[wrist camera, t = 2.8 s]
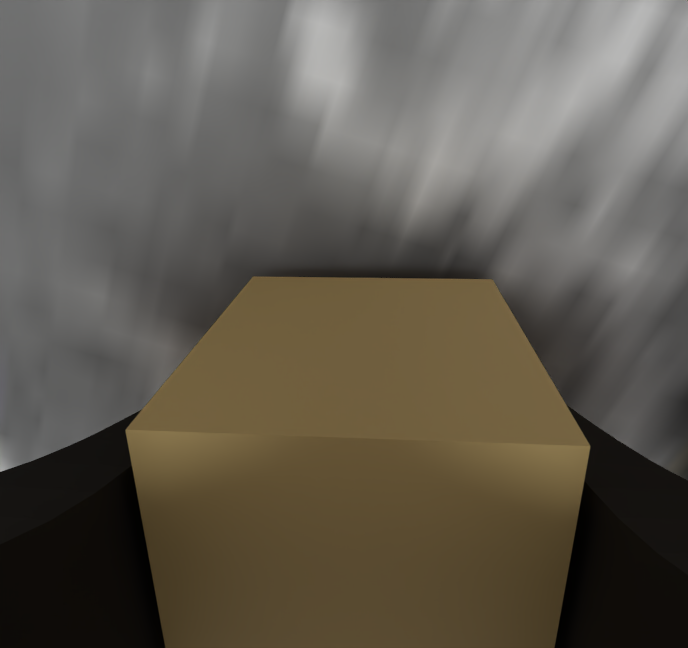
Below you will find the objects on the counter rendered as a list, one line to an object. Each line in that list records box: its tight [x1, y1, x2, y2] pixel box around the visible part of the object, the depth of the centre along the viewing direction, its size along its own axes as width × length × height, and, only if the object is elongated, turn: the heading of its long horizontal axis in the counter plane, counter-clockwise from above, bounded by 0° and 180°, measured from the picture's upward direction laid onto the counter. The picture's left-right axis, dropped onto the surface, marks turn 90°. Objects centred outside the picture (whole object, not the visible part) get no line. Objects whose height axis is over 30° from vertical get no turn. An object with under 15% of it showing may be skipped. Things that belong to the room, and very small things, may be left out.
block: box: [125, 277, 590, 648], centre depth 10 cm, size 5×5×6 cm
